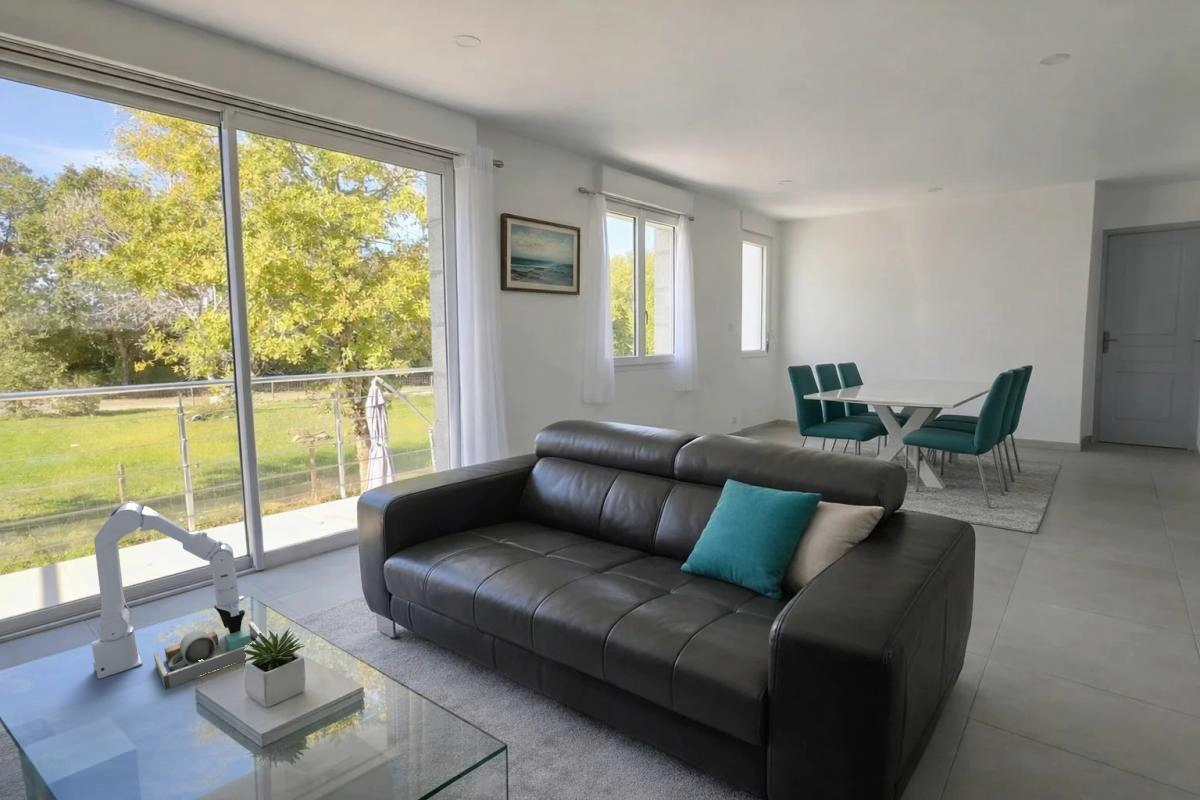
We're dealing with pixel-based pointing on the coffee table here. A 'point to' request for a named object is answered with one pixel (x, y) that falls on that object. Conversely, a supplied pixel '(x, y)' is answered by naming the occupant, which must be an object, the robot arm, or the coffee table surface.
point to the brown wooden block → (175, 649)
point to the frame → (202, 664)
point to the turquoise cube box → (237, 639)
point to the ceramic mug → (194, 649)
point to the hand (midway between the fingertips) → (232, 631)
